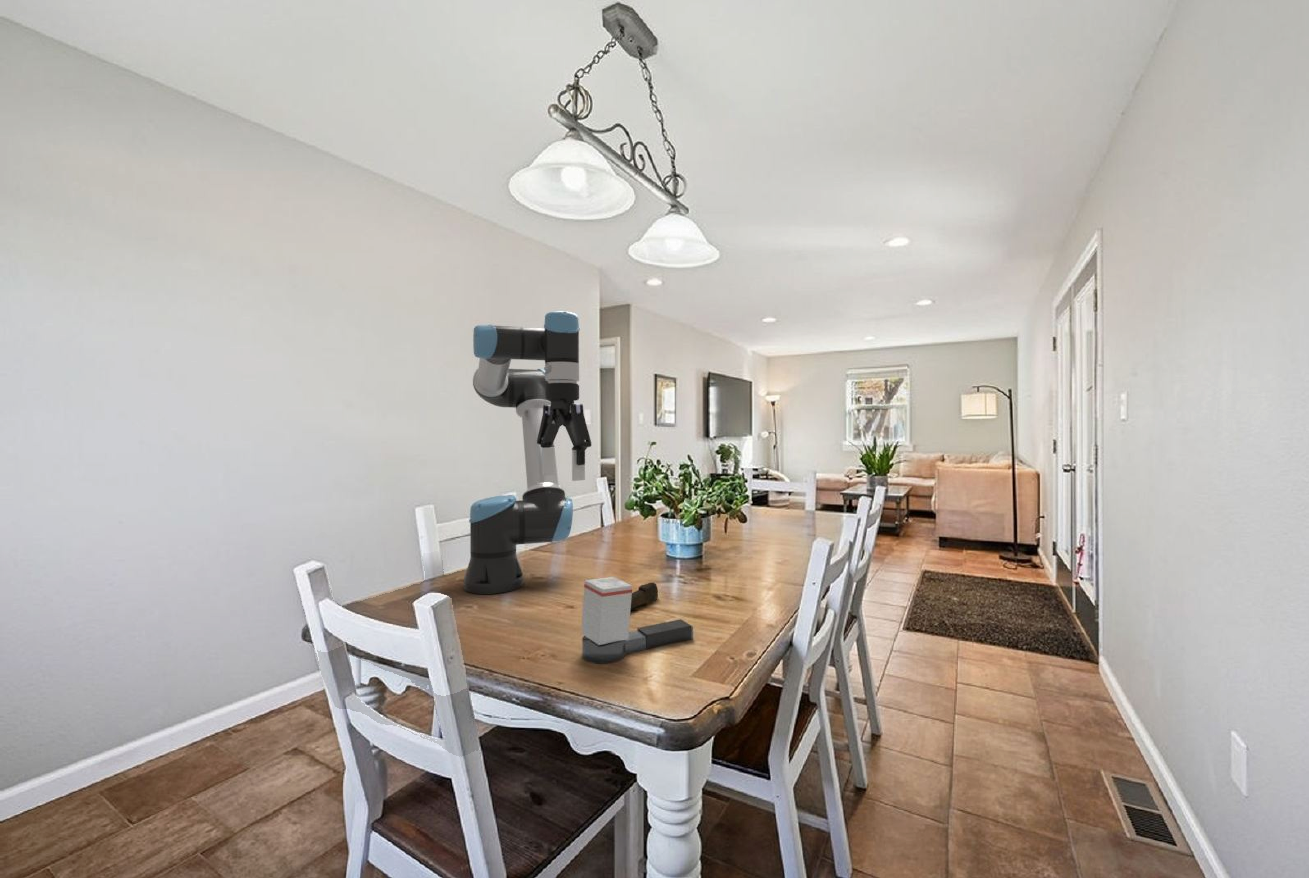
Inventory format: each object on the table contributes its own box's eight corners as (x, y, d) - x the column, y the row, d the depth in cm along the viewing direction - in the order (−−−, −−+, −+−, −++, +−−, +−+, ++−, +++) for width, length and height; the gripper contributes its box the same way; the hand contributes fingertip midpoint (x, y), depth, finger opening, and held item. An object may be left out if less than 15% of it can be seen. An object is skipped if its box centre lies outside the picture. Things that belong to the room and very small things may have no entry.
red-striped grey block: (580, 632, 104) (584, 580, 104) (609, 627, 108) (613, 576, 108) (598, 645, 99) (602, 589, 99) (628, 639, 103) (632, 585, 103)
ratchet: (592, 666, 98) (591, 625, 98) (576, 650, 105) (575, 611, 105) (698, 642, 109) (699, 604, 109) (677, 628, 116) (677, 593, 116)
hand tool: (609, 623, 120) (609, 602, 120) (597, 619, 122) (597, 598, 122) (666, 602, 134) (666, 583, 134) (653, 598, 137) (653, 579, 136)
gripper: (522, 385, 131) (522, 474, 132) (576, 378, 112) (576, 483, 112) (550, 386, 136) (551, 472, 136) (607, 380, 116) (607, 481, 117)
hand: (562, 477), depth 124 cm, fingers open, 13 cm apart
